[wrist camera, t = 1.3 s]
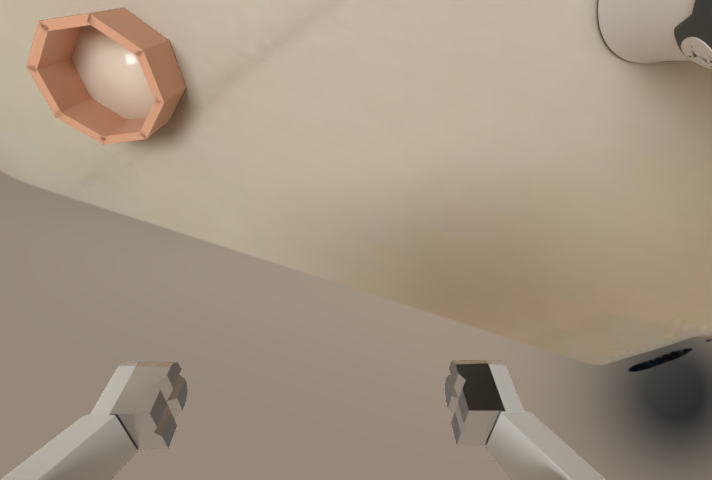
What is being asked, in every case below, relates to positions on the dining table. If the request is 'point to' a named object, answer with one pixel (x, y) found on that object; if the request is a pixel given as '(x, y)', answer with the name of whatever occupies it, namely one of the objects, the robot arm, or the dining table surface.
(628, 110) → the dining table surface
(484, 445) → the robot arm
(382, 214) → the dining table surface
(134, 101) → the bowl
